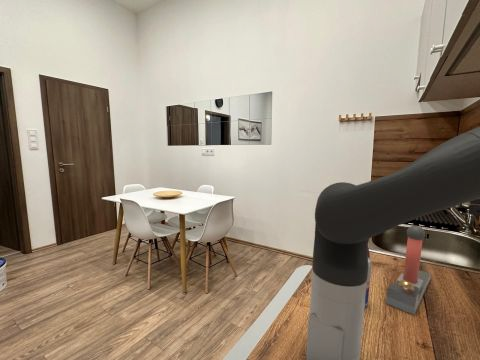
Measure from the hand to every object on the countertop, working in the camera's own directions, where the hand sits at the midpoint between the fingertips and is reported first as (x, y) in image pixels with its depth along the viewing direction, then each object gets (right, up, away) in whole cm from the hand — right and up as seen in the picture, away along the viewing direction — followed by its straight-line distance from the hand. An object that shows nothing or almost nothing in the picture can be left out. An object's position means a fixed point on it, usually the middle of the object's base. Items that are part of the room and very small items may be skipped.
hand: (470, 205), depth 55 cm
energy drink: (-22, -26, +8) cm, 35 cm away
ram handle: (-5, -23, +12) cm, 27 cm away
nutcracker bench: (-4, -25, +13) cm, 29 cm away
